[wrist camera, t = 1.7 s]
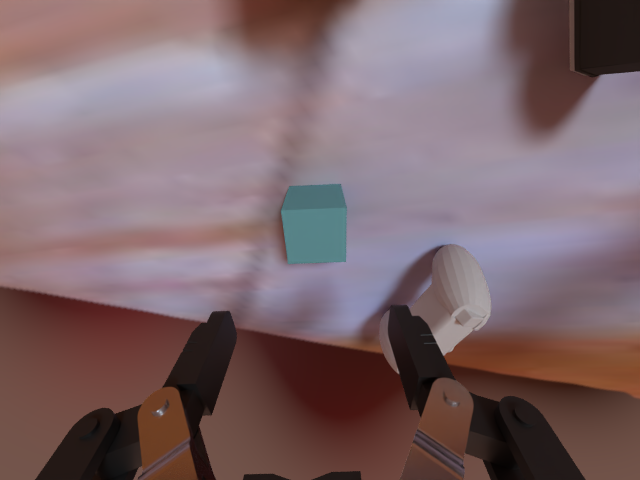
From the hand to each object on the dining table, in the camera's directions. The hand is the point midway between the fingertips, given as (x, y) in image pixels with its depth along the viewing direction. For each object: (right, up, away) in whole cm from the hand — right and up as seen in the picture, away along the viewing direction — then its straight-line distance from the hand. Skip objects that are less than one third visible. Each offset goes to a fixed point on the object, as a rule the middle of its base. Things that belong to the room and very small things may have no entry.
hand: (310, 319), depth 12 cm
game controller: (+12, -1, +18) cm, 21 cm away
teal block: (0, +7, +13) cm, 15 cm away
